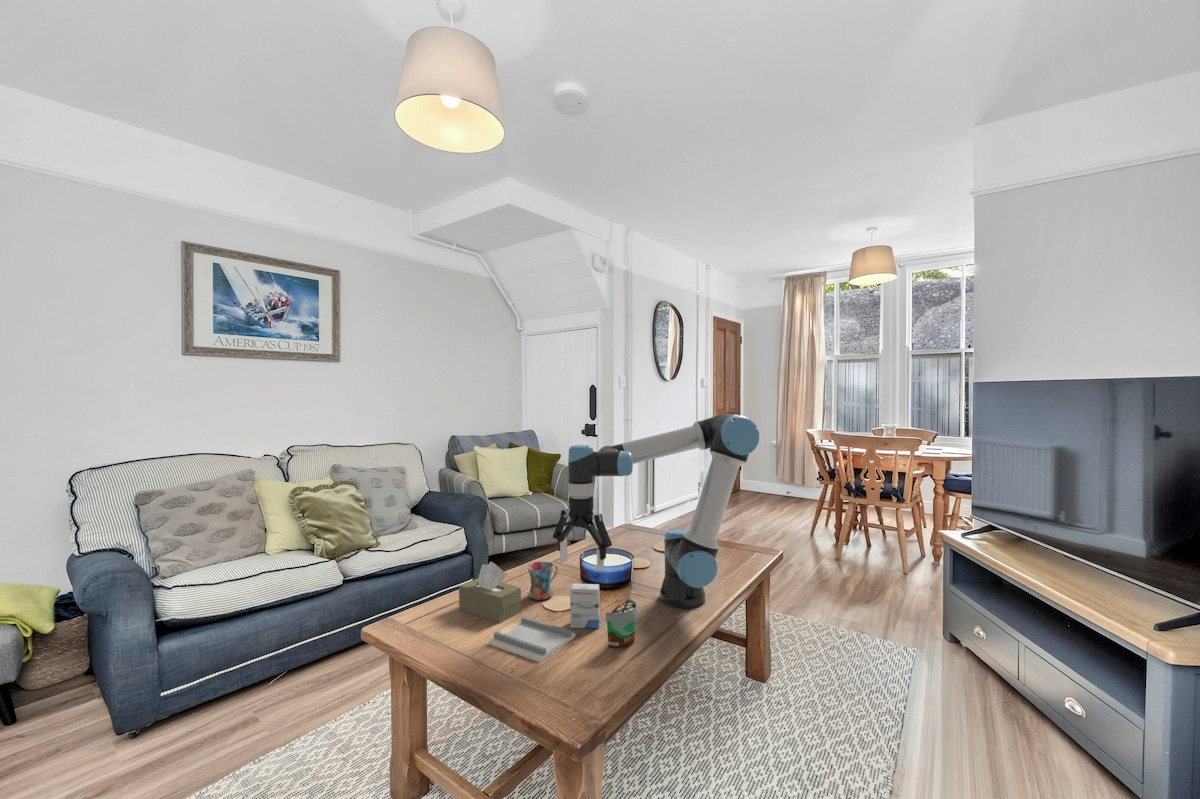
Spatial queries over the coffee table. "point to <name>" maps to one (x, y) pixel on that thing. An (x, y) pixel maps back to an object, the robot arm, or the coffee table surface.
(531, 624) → the rail mount
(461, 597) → the tissue box
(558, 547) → the robot arm
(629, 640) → the food container
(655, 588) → the coffee table surface
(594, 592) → the ink box
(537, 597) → the mug
